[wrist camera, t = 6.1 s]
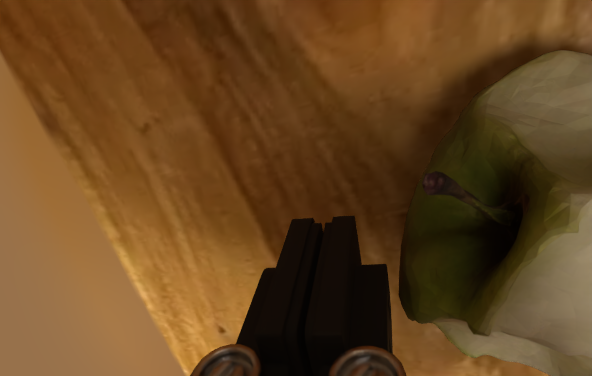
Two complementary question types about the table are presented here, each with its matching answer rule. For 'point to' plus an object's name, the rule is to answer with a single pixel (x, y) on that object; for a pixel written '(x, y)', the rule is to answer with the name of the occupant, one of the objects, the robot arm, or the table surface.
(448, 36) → the table surface
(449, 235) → the fruit
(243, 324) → the robot arm
